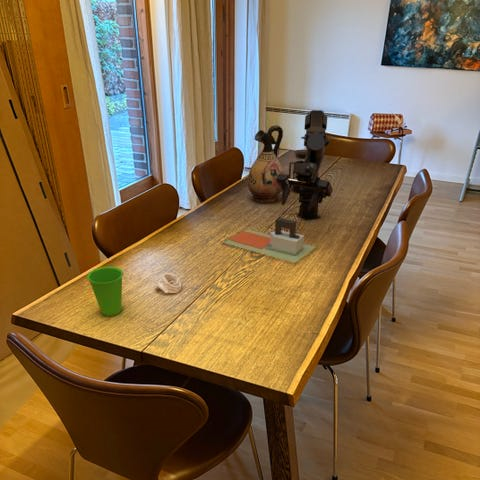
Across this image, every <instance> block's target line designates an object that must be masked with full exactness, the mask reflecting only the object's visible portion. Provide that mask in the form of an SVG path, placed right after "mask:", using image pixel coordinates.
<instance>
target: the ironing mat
mask: <svg viewBox="0 0 480 480" xmlns="http://www.w3.org/2000/svg"><path fill="white" fill-rule="evenodd" d="M223 243H224V244H227V245H230V246H234V247H237V248H241V249H245V250H248V251H252V252H255V253H259V254H261V255H265V256H269V257H273V258H275V259H276V258H277V259H280V260H282V261H283V260H284V261H287V262H290V263H294V264H296V263H297V262H298V261H299V260H301V259H302V258H303V257H305V256H307V254H309V253H310V252H312V251H313V250H315V249H316V248H317V246H315V245H310V244H307V243H303V250H302V251H301V252H299V253H298V254H297V255H296V256H293V255H288V254H284V253H280V252H276V251H272V250H268V249H266V246H267V245H268V244H269V243H270V234H268V233H265V232H261V231H256V230H253V229H250V228H247V229H245V230H243V231H242V232H239V233H238V234H236V235H234V236H233V237H231V238H229V239H227V240H225V241H224V242H223Z"/></svg>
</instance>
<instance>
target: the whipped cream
mask: <svg viewBox="0 0 480 480" xmlns="http://www.w3.org/2000/svg"><path fill="white" fill-rule="evenodd" d="M172 281H173V283H170V282H172ZM158 289H160V290H161V291H162V292H163V293H165V294H168V293H170V294H177V293H179V292H180V291H181V289H182V283H181V281H180V279H179V278H178V276H177V275H175V274H173V273H171V272H168V273H164V274H163V275H162V276H161V278H160V280H158V282H157V285H156V287H155V291H157V290H158Z"/></svg>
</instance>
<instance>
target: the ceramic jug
mask: <svg viewBox="0 0 480 480" xmlns="http://www.w3.org/2000/svg"><path fill="white" fill-rule="evenodd" d="M274 132H277V137H276V139H275V137H274V136H273V133H274ZM283 136H284V130H283V128H282V127H281V126H280V125H278V124H277V125H276V124H275V125H272V126H270V127H269V128H268V130H267V132H265V131H264V130H262V129H260V130H259V131H257V132H256V133H255V135H254V141H256V142H259V143H261V144H263V148H262V150H261V152H260V153H259V154H258V156H257V157H256V159H254V160H255V161H254V162H253V164H252V165H251V167H250V169H249V173H248V177H247V188H248V190H249V192H250V193H251V195H252V196H253V199H254V201H255V202H258V203H263V204H268V203H274V202H275V201H276V200H277V197H278V196H279V195H280V194H281V193H282V189H281V188H280V187H279V185H278V183H277V181H276V178H277V175H278V174H280V173H282V174H285V172H284V170H283V167H282V165H281V162H280V160H279V157H278V155H279V149H280V145H281V143H282V140H283ZM274 143H275V144H274ZM273 144H274V146H273Z"/></svg>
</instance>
